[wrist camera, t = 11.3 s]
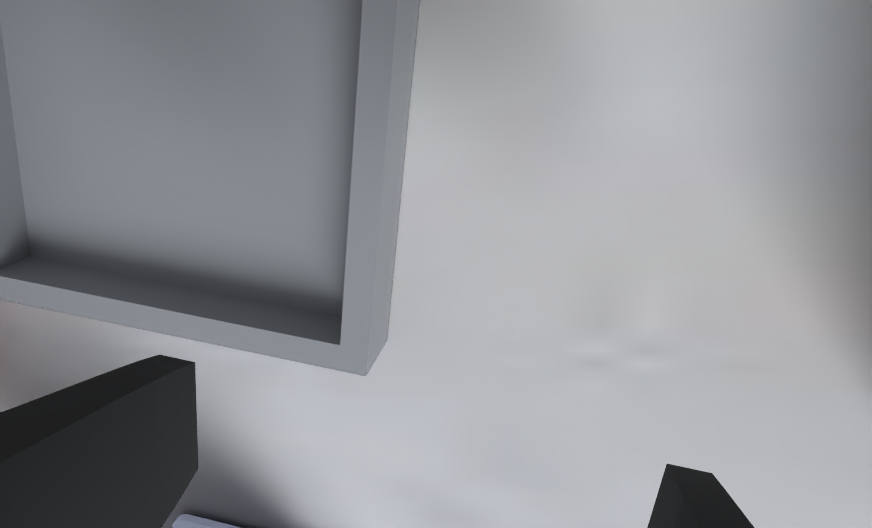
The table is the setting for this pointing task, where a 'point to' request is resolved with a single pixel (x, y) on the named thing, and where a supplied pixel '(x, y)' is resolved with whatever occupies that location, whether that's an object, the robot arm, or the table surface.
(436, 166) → the table surface
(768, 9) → the table surface
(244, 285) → the grey tray
